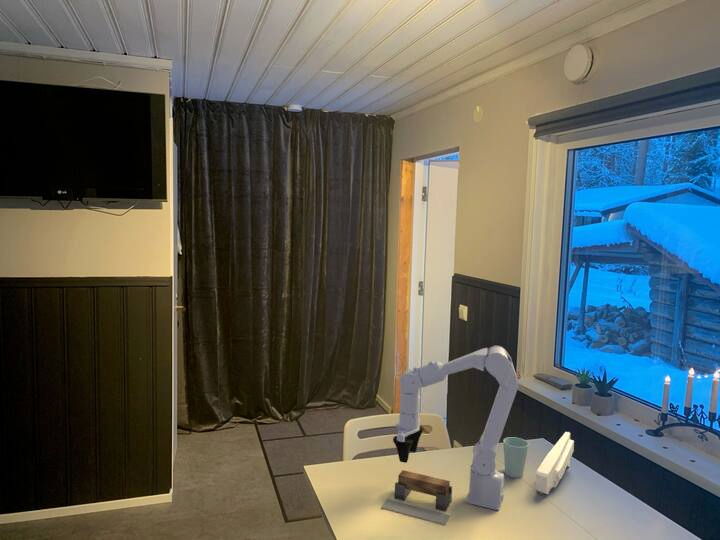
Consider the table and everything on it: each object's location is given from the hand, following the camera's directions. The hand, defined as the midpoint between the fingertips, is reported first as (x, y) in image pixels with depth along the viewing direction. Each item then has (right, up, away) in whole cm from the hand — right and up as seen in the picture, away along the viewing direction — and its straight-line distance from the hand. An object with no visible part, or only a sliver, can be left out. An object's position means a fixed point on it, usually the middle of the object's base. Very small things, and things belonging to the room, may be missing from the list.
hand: (407, 456), depth 158 cm
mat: (+1, -11, -12) cm, 16 cm away
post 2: (+9, -11, -8) cm, 16 cm away
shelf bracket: (+46, -11, +9) cm, 48 cm away
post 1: (-2, -10, -3) cm, 11 cm away
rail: (+4, -8, -6) cm, 10 cm away
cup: (+35, -10, +13) cm, 38 cm away
